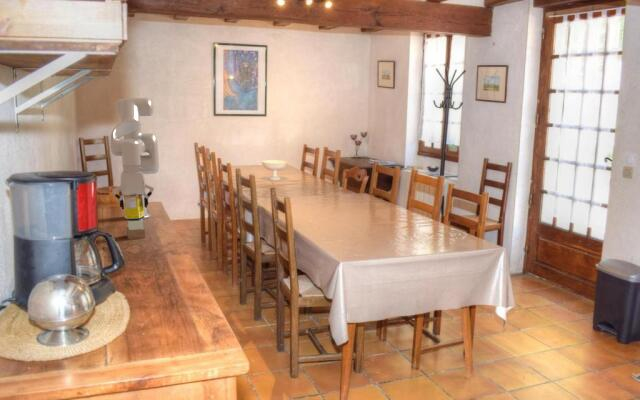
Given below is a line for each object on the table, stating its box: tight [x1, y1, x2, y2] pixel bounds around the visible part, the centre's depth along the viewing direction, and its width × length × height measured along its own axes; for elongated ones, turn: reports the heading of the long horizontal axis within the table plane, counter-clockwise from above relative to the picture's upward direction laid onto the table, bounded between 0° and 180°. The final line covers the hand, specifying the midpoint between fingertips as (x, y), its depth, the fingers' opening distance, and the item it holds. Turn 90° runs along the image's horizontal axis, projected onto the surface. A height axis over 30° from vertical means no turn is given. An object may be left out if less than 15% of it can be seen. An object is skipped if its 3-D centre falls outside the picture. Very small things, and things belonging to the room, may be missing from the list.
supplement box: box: [123, 195, 144, 221], centre depth 254 cm, size 6×6×11 cm
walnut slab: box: [126, 226, 146, 240], centre depth 256 cm, size 7×7×4 cm
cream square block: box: [127, 219, 144, 230], centre depth 255 cm, size 6×6×4 cm
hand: (134, 207), depth 254 cm, fingers open, 9 cm apart
